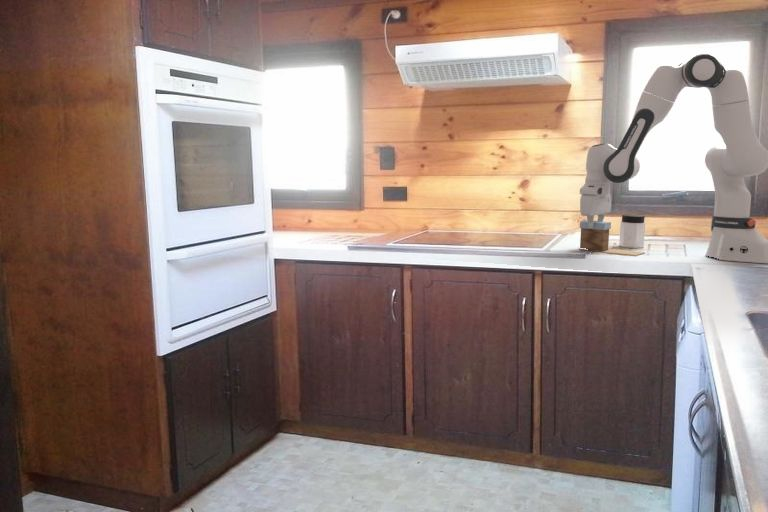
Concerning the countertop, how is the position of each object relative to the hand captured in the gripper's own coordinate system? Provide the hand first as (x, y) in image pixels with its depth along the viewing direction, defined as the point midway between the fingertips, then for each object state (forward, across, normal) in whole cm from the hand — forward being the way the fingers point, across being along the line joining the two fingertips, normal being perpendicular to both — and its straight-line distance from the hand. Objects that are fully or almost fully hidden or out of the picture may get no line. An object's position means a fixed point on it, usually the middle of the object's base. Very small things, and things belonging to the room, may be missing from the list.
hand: (595, 226), depth 258 cm
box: (+8, 0, 0) cm, 8 cm away
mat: (+8, 0, +11) cm, 14 cm away
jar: (+9, -19, +7) cm, 22 cm away
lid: (+2, 0, 0) cm, 2 cm away
